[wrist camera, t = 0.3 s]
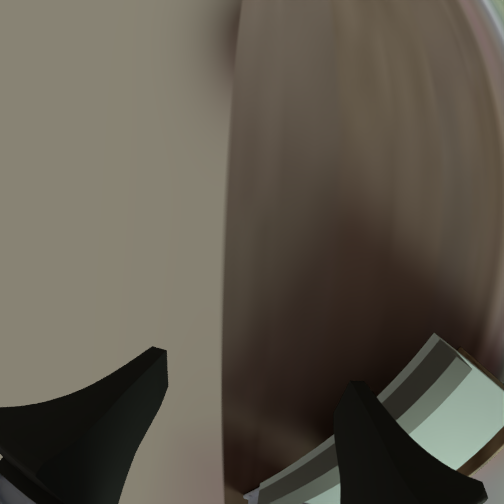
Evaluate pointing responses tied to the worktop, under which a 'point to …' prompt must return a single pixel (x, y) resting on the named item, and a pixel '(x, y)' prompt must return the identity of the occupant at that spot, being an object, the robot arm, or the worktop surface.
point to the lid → (409, 423)
